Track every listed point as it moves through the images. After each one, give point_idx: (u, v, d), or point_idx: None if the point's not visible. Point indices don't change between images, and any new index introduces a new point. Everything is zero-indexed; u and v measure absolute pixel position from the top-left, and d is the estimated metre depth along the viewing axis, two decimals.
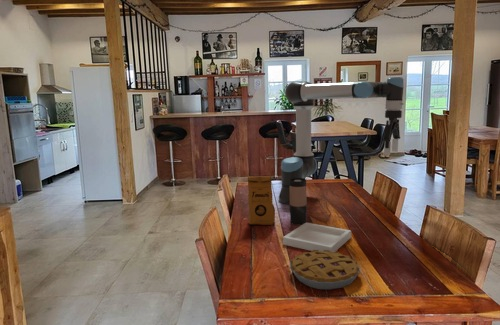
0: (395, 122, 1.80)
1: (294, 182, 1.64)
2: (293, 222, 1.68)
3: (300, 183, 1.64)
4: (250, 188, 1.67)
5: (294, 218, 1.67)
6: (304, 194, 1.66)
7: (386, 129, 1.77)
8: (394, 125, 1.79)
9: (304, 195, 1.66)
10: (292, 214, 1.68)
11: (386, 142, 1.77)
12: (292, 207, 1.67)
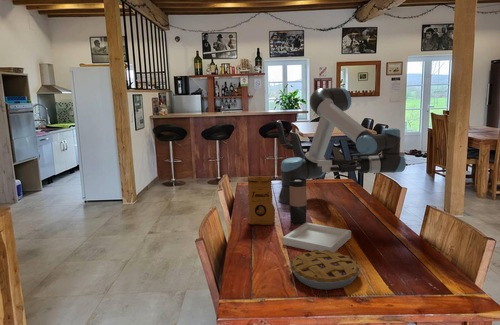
0: None
1: (294, 182, 1.64)
2: (293, 222, 1.68)
3: (300, 183, 1.64)
4: (250, 188, 1.67)
5: (294, 218, 1.67)
6: (304, 194, 1.66)
7: (351, 167, 1.58)
8: None
9: (304, 195, 1.66)
10: (292, 214, 1.68)
11: (337, 168, 1.58)
12: (292, 207, 1.67)
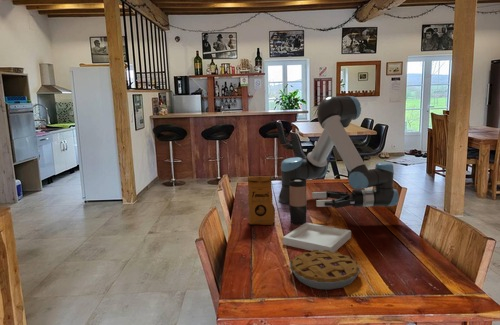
0: None
1: (294, 182, 1.64)
2: (293, 222, 1.68)
3: (300, 183, 1.64)
4: (250, 188, 1.67)
5: (294, 218, 1.67)
6: (304, 194, 1.66)
7: (345, 202, 1.60)
8: None
9: (304, 195, 1.66)
10: (292, 214, 1.68)
11: (331, 203, 1.60)
12: (292, 207, 1.67)
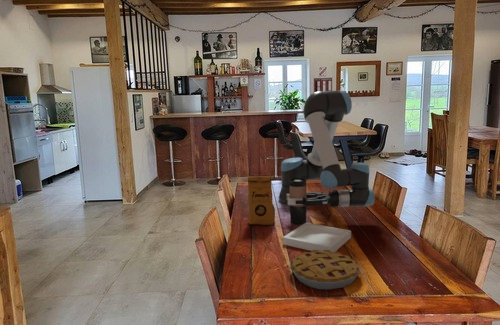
0: None
1: (294, 182, 1.64)
2: (293, 222, 1.68)
3: (300, 183, 1.64)
4: (250, 188, 1.67)
5: (294, 218, 1.67)
6: (304, 194, 1.66)
7: (317, 201, 1.62)
8: None
9: (304, 195, 1.66)
10: (292, 214, 1.68)
11: (302, 202, 1.63)
12: (292, 207, 1.67)
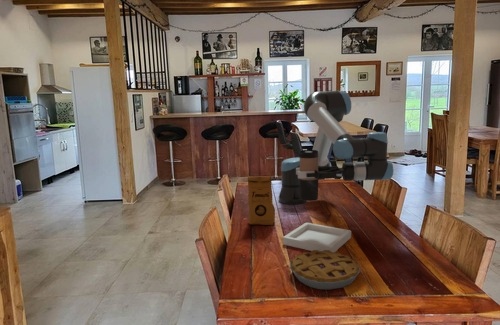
0: None
1: (305, 153, 1.49)
2: (304, 198, 1.53)
3: (311, 154, 1.49)
4: (250, 188, 1.67)
5: (305, 193, 1.52)
6: (316, 166, 1.51)
7: (330, 173, 1.47)
8: None
9: (316, 168, 1.51)
10: (303, 189, 1.53)
11: (313, 174, 1.48)
12: (303, 181, 1.52)
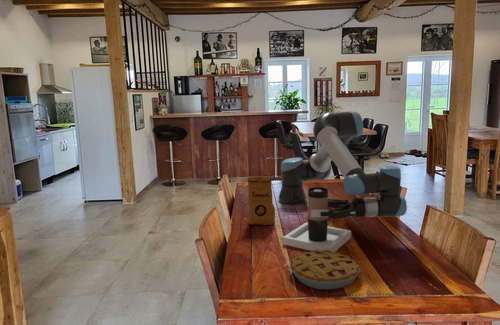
0: None
1: (314, 192, 1.41)
2: (312, 238, 1.45)
3: (321, 194, 1.41)
4: (250, 188, 1.67)
5: (313, 234, 1.45)
6: (325, 206, 1.43)
7: (345, 212, 1.38)
8: None
9: (325, 207, 1.43)
10: (311, 229, 1.45)
11: (328, 214, 1.38)
12: (311, 221, 1.44)
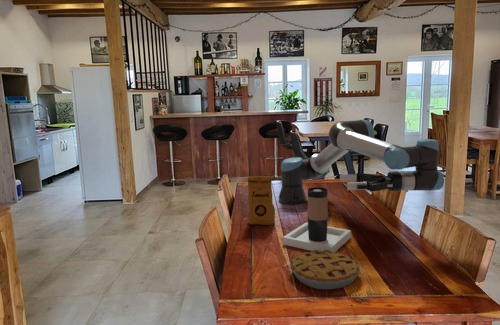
0: None
1: (314, 192, 1.42)
2: (312, 238, 1.45)
3: (320, 194, 1.41)
4: (250, 188, 1.67)
5: (313, 234, 1.45)
6: (325, 206, 1.43)
7: (382, 184, 1.35)
8: None
9: (325, 207, 1.43)
10: (311, 229, 1.45)
11: (365, 186, 1.35)
12: (311, 221, 1.44)
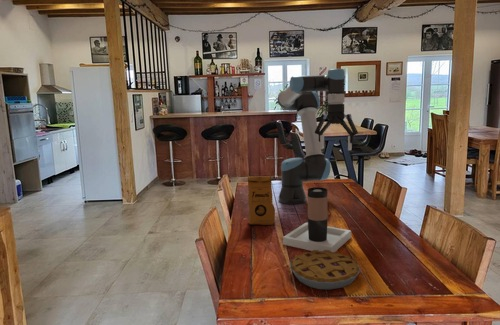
0: (331, 116, 1.72)
1: (313, 192, 1.42)
2: (312, 238, 1.45)
3: (320, 194, 1.41)
4: (250, 188, 1.67)
5: (313, 234, 1.45)
6: (325, 206, 1.43)
7: None
8: (328, 119, 1.73)
9: (325, 207, 1.43)
10: (311, 229, 1.45)
11: None
12: (311, 221, 1.44)
